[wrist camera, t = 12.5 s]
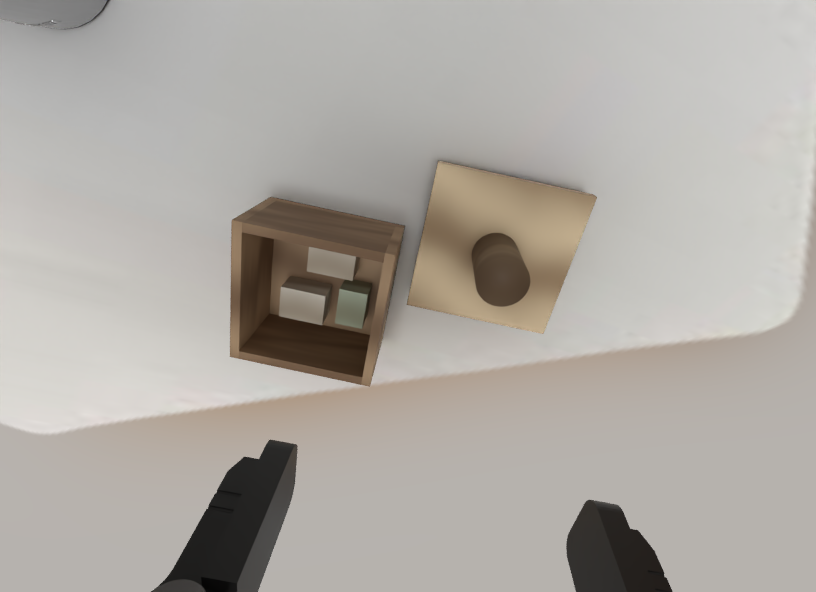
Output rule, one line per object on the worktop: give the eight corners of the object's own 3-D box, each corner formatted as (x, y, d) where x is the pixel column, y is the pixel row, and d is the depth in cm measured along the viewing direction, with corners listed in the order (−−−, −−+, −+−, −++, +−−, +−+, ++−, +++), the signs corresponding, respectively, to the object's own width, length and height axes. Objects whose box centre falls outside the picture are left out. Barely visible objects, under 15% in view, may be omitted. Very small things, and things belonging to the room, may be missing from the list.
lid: (438, 158, 27) (436, 175, 22) (588, 191, 27) (624, 217, 22) (408, 293, 32) (400, 337, 26) (538, 321, 32) (558, 371, 26)
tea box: (270, 196, 30) (231, 219, 25) (404, 226, 30) (395, 255, 25) (264, 314, 34) (230, 356, 29) (382, 340, 34) (369, 386, 29)
